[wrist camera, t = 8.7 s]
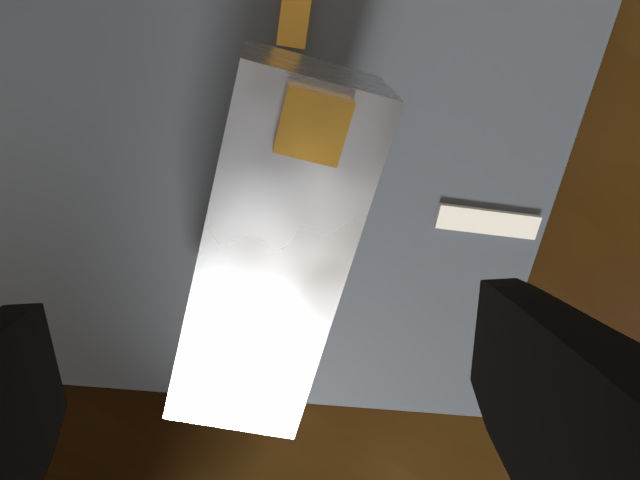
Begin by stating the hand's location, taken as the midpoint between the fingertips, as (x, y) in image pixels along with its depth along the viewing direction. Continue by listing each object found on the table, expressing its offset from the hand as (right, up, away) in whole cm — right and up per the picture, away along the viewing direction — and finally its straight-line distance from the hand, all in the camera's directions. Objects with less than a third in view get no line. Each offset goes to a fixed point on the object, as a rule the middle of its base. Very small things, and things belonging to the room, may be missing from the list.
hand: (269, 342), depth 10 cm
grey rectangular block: (0, +3, +6) cm, 7 cm away
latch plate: (-1, +4, +8) cm, 9 cm away
